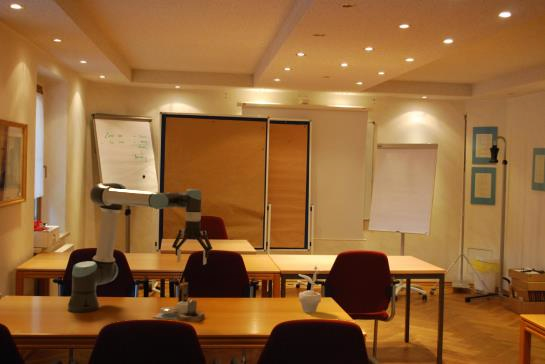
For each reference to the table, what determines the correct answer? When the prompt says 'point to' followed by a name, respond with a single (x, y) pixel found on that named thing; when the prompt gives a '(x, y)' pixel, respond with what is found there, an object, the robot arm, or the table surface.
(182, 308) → the cup
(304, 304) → the potted plant
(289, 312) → the table surface
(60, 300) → the table surface
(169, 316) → the base
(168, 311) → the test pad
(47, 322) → the table surface
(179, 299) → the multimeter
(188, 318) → the brown square tray
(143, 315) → the table surface
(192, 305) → the cell
